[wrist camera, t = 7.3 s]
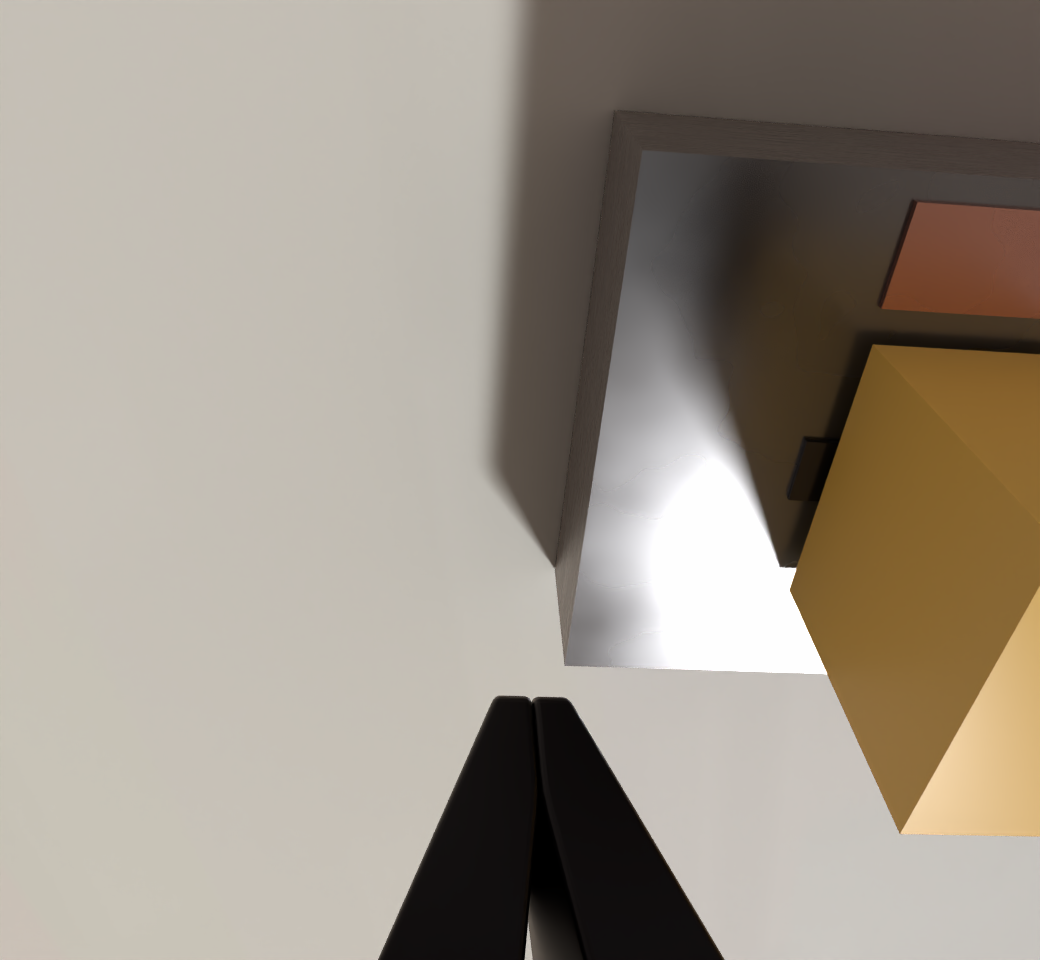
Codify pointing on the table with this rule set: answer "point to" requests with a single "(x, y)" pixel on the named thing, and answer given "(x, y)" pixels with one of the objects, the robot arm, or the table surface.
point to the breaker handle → (936, 586)
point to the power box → (760, 360)
